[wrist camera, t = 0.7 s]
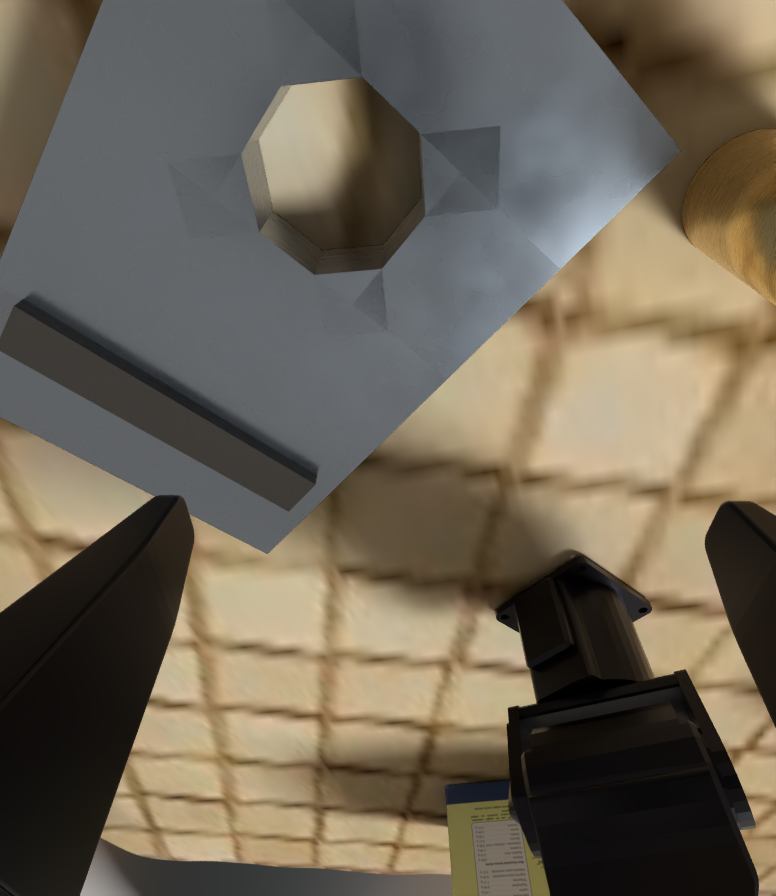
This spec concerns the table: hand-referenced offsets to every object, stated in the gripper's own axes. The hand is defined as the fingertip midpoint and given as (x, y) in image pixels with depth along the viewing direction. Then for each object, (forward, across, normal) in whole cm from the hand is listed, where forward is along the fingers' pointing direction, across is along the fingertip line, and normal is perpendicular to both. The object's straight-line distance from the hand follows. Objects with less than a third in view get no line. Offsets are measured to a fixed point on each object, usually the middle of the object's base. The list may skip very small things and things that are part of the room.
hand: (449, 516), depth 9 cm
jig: (+13, +5, 0) cm, 14 cm away
